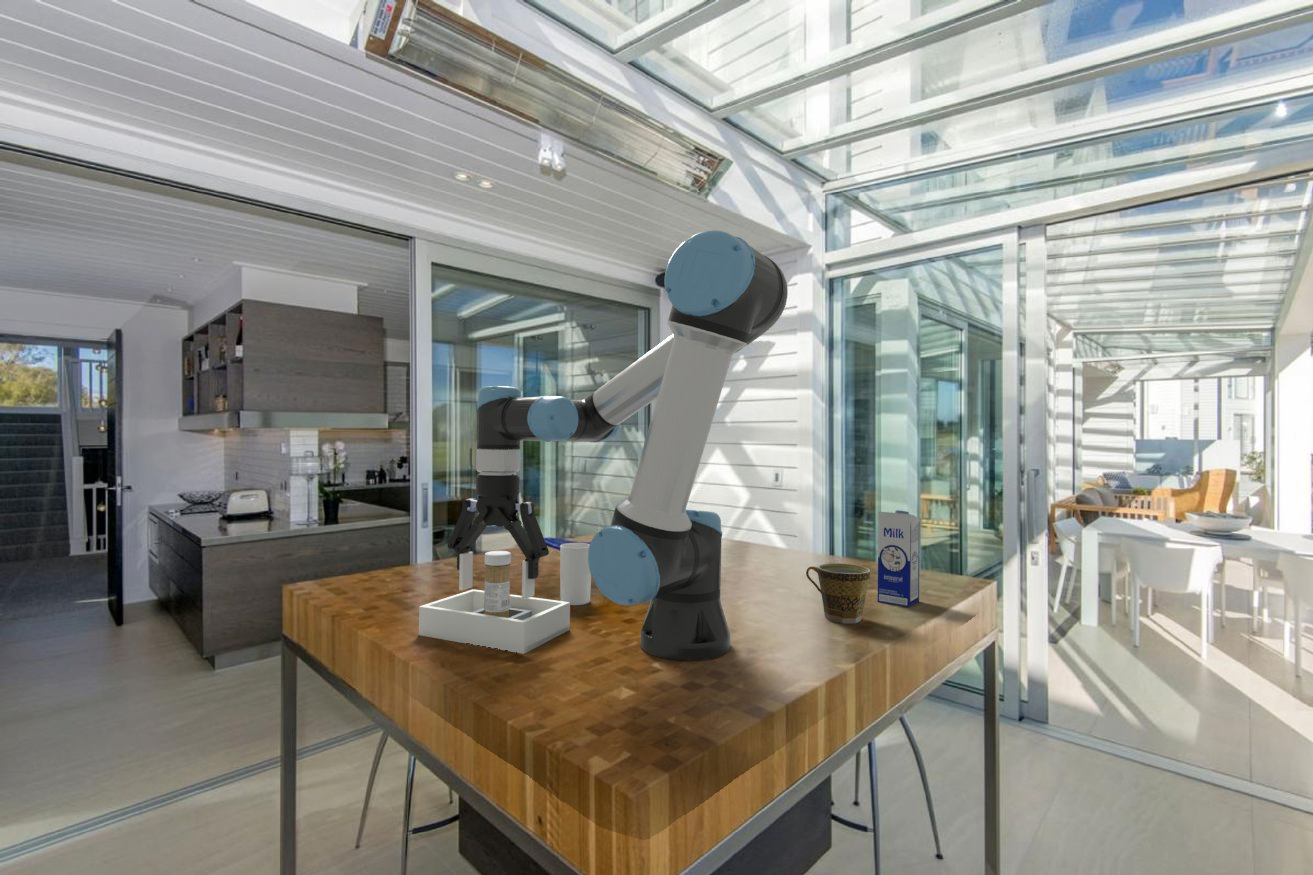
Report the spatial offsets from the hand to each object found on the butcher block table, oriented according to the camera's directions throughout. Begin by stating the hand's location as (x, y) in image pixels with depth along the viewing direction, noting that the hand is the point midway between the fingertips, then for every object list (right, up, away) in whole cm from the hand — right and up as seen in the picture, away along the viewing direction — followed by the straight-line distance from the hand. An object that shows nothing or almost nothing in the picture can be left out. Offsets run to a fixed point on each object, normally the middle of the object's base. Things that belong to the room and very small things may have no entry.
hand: (496, 593), depth 109 cm
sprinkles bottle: (0, -6, 0) cm, 6 cm away
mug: (+11, -8, +23) cm, 27 cm away
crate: (0, -7, 0) cm, 7 cm away
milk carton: (+82, -9, +26) cm, 86 cm away
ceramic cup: (+64, -8, +13) cm, 66 cm away
